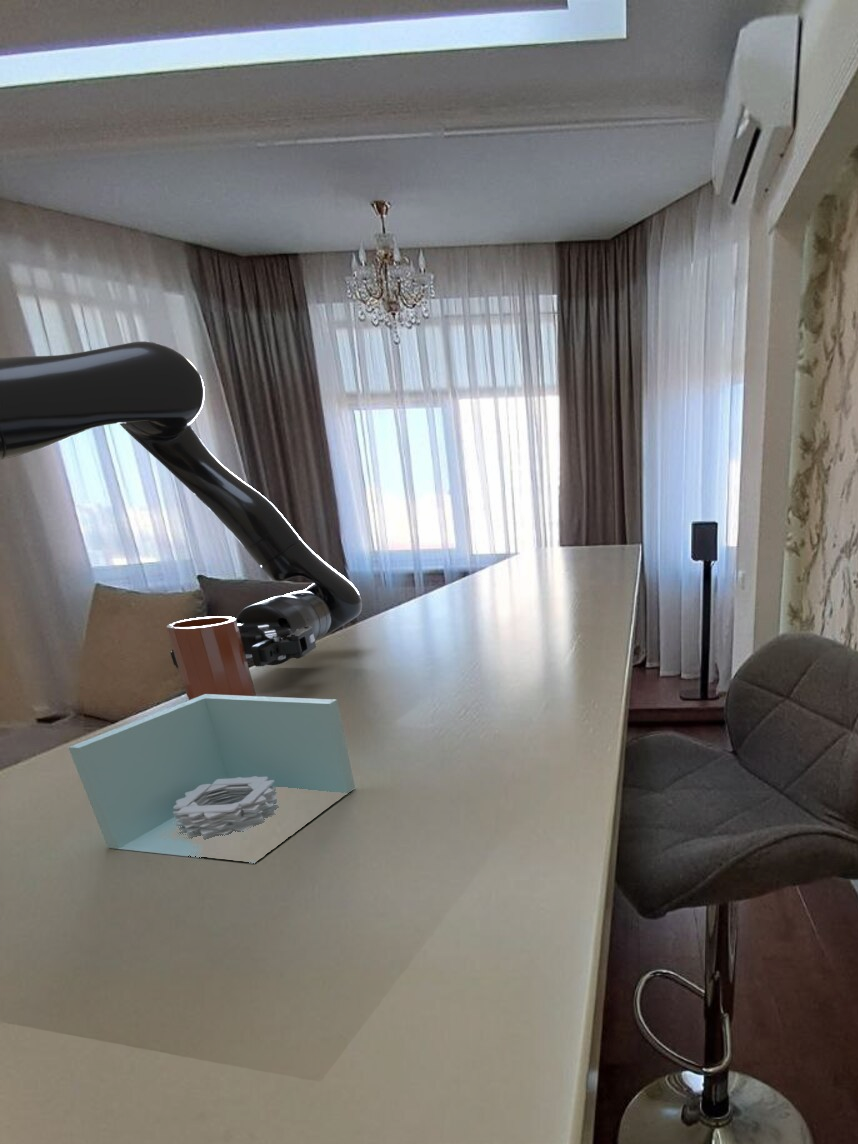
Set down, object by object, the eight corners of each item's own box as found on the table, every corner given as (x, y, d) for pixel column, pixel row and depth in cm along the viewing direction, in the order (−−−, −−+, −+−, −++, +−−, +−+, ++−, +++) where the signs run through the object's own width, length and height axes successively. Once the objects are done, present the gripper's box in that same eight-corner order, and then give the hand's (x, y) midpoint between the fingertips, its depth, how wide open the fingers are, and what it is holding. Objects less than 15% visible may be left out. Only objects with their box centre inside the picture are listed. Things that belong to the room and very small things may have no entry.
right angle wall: (107, 847, 47) (68, 747, 44) (230, 779, 58) (205, 694, 55) (255, 863, 45) (224, 757, 41) (355, 788, 55) (336, 699, 52)
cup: (180, 723, 72) (151, 628, 68) (220, 705, 78) (195, 616, 74) (234, 724, 71) (208, 628, 67) (271, 706, 77) (248, 616, 73)
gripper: (216, 600, 86) (139, 625, 71) (328, 596, 86) (274, 621, 71) (232, 659, 89) (161, 694, 75) (340, 655, 89) (290, 690, 75)
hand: (216, 658), depth 73 cm, fingers open, 8 cm apart
